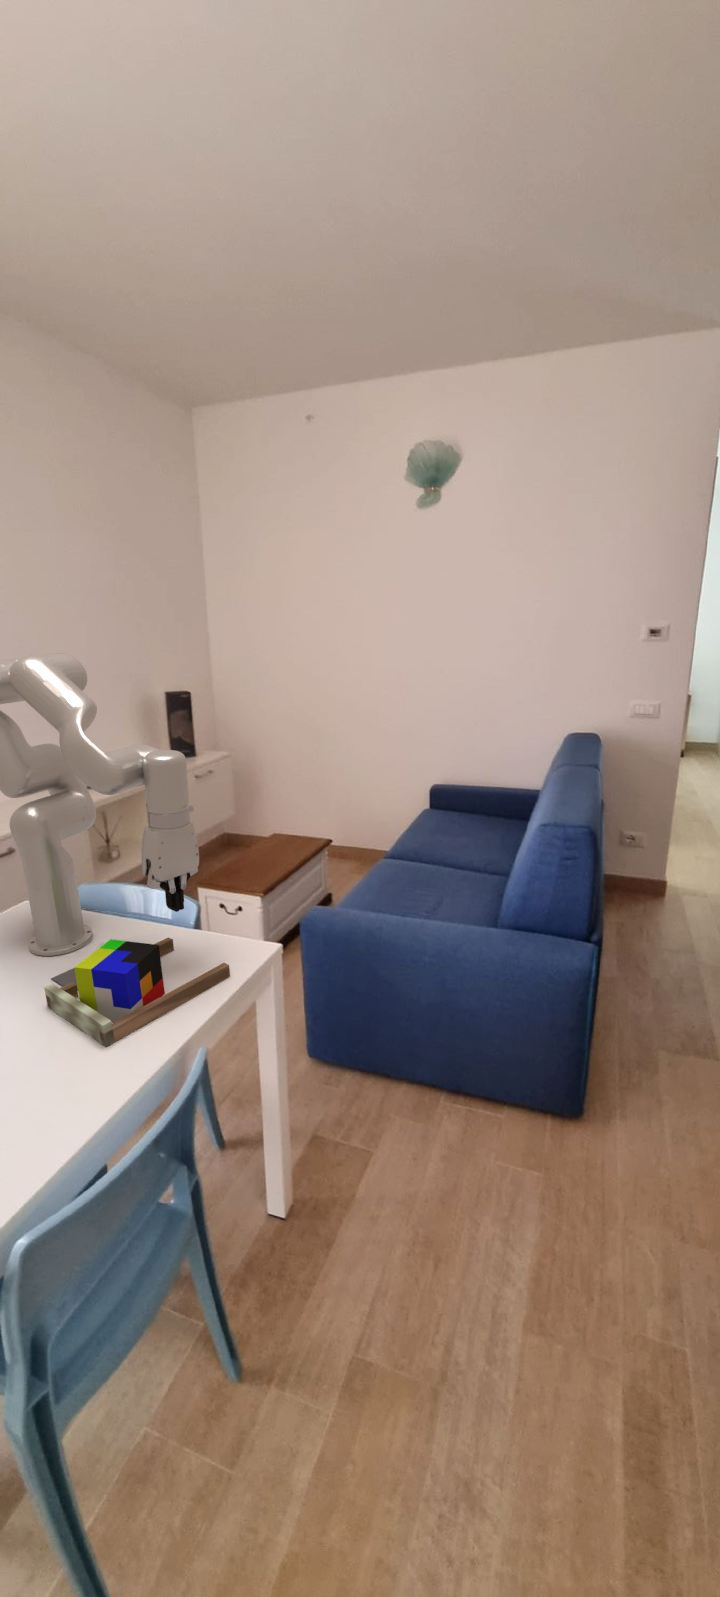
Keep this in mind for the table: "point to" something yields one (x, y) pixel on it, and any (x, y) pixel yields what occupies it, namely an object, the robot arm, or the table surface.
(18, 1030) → the table surface
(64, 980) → the grey flat block
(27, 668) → the robot arm
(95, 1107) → the table surface
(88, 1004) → the puzzle toy
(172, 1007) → the trap box
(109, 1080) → the table surface
